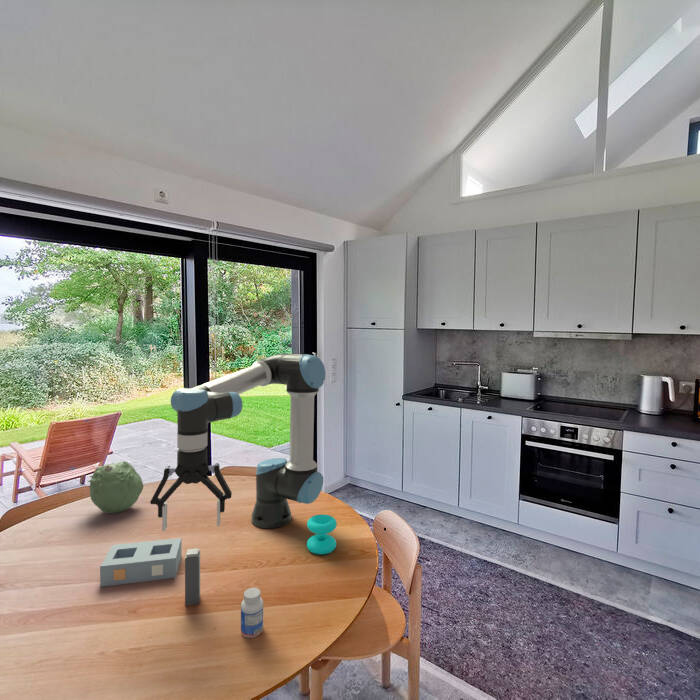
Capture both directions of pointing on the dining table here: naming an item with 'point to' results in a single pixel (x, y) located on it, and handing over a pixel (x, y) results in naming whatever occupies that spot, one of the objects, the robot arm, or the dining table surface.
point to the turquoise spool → (321, 534)
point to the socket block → (141, 562)
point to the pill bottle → (252, 613)
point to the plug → (192, 577)
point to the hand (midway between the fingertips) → (192, 526)
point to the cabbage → (115, 487)
